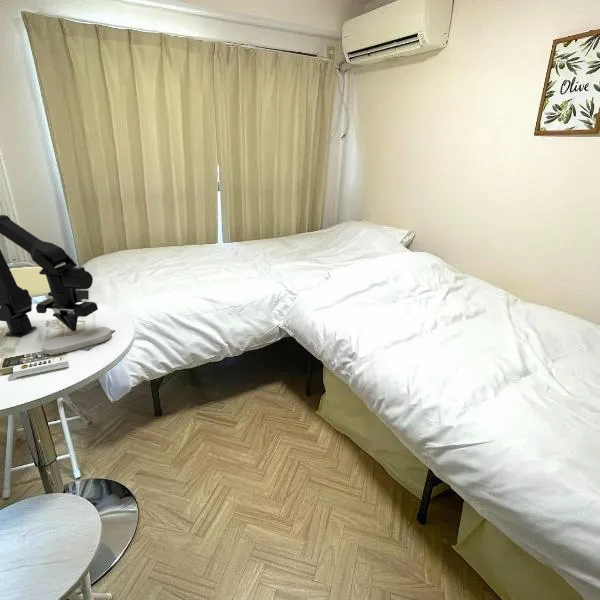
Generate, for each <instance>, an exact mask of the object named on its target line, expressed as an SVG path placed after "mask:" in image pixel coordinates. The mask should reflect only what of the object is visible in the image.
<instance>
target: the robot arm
mask: <svg viewBox="0 0 600 600" xmlns="http://www.w3.org/2000/svg"><path fill="white" fill-rule="evenodd" d="M0 235H2V236H4V237H5V238H6V239H8V240H9V241H11V242H13V243H14V244H15V245H17V246H18V247H20V248H21V249H23V250H24V251H25V252H27V253H28V254H29V255H30V258H31V260H32V261H33V262H34V263H35V264H37V266H39V267H40V268H41V270H40V271H39V272H38V273H39V275H45V277H46V281H47V283H48V286H49V290H50V292H48V293H47V295H48V297H52V298H47V299H45V300H42V301H41V302H38V303H37V304H36V306H35V310H36V312H37V314H46V313H47V312H48V310H47V309H49V310H52V311H53V313H52V316H53V317H55V318H56V319H57V320H59V321H60V322H61V323H62V324H63V325H65V327H67V328H68V329H69V331H71V332H75V331H76V330H77V325H78V320H79V317H81V318H86V317H88V316H90V315H92V314H93V313H94V312H96V311H98V310H99V307H98V304H97V302H94V301H87V300H89V298H90V296H89V295H90V294H89V291H90V290H89V289H90V288H91V287H92V285H93V276H92V275H93V274H91V273H90V271H87V270H85V267H83V266H79V267H77V263H76V262H75V261H74V259H72V258H71V257H70V256H69V254H68V253H67V252H66V251H65V250H64V248H62V247H61V246H59V245H57V244H55V243H52V242H48V241H44V240H42V239H39V238H38V237H36V236H35V235H34V234H32V233H31V232H29V231H28V230H26V229H24V227H22V226H21V225H19V224H18V223H16V222H14V221H13V220H12V219H11V218H10V217H9V216H8V215H6V214H0ZM32 300H33V297H31V295H30V293H29V290H28V289H23V288H22V287H20V286H18V284H17V282H16V279H15V277H14V275H13V273H12V271H11V269H10V267H9V264H8V262H7V260H6V258H5V256H4V254H3V252H2V250H1V248H0V322H6V326H7V328H8V330H9V331H8V332H6V333H5V336H10V337H11V336H12V337H18V338H19V337H24V336H26V335H27V334H28V333H31V332H32V331H34V330H37V326H32V322H31V319H30V318H29V315H28V314H27V313H30V312H32V309H33V307H32V306H33V301H32ZM81 300H84V301H83V302H82V301H81ZM85 300H86V301H85ZM80 302H81V303H80Z"/></svg>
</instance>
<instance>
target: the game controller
mask: <svg viewBox="0 0 600 600" xmlns="http://www.w3.org/2000/svg"><path fill="white" fill-rule="evenodd" d="M111 330H112V329H111V328H110V327H108V326H98V327H94V328H93V327H92V328H91V329H88V330H86V331H83V332H79V333H75V334H71V335H66V336H58V337H54V338H51V339H50V340H47V341H45V342H44V343H43V344H42V345H41V347H42V348H41V349H42V351H43V353H44V354H45V355H47V354H49V355H48V356H54V355H53V354H57V355H59V354H58V353H61V354H64V353H63V352H65V353H68V352H71V351H75V350H78V349H79V348H83V347H86V346H90V345H94V344H97V343H98V344H100V343H103V342H105V341H108V340H109V339H110V338H111V337H112V336H113V335H112V334H113V333H112V334H111ZM98 344H97V345H98Z"/></svg>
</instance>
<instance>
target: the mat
mask: <svg viewBox="0 0 600 600" xmlns="http://www.w3.org/2000/svg"><path fill="white" fill-rule="evenodd" d="M110 330H111V334H114V333H115V332H116V329H110ZM98 344H99V343H97V344H94V345H90V346H86V347H83V348H79V350H81V351H90V350H91V349H93V348H94V347H95V346H97V345H98ZM79 350H78V351H79Z"/></svg>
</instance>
